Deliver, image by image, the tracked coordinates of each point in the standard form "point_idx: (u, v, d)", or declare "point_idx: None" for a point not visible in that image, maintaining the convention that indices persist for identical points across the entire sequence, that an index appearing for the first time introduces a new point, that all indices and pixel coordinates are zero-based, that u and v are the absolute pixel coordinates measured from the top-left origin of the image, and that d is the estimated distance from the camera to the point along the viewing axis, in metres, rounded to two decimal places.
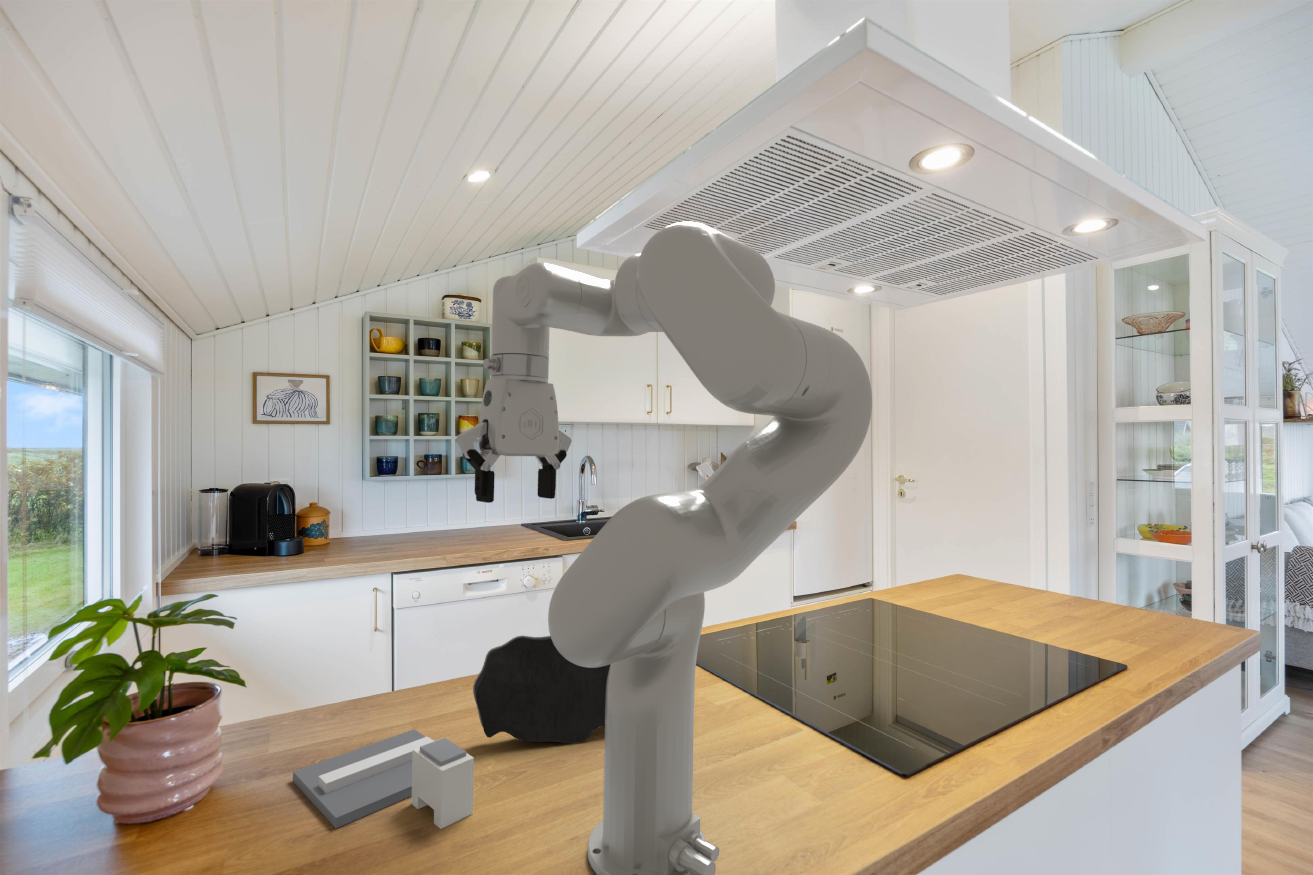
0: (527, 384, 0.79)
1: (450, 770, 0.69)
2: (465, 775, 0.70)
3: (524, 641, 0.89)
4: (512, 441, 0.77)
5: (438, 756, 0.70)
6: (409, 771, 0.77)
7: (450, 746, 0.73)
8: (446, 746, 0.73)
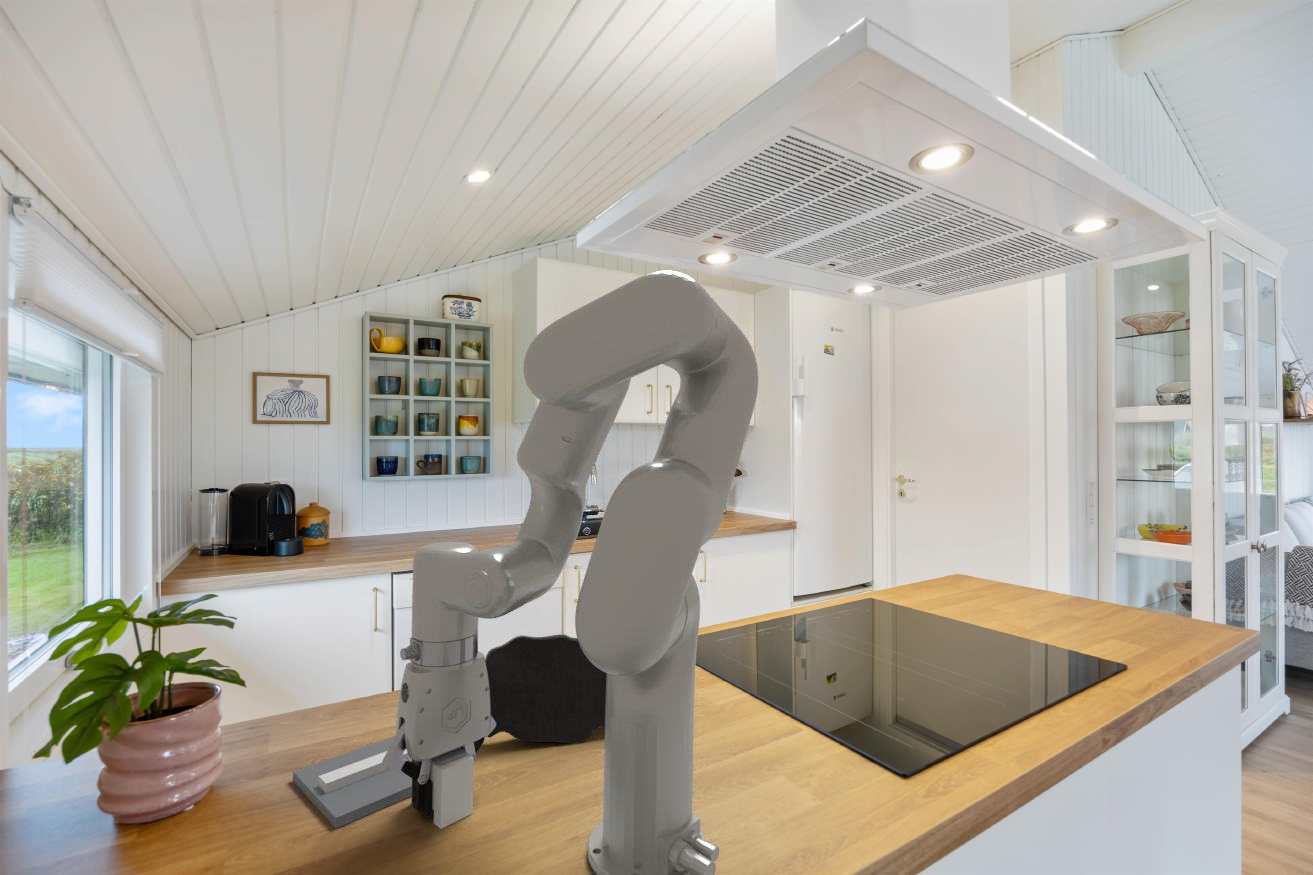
0: (451, 671, 0.70)
1: (450, 770, 0.69)
2: (465, 775, 0.70)
3: (524, 641, 0.89)
4: (432, 743, 0.68)
5: (438, 756, 0.70)
6: None
7: None
8: None
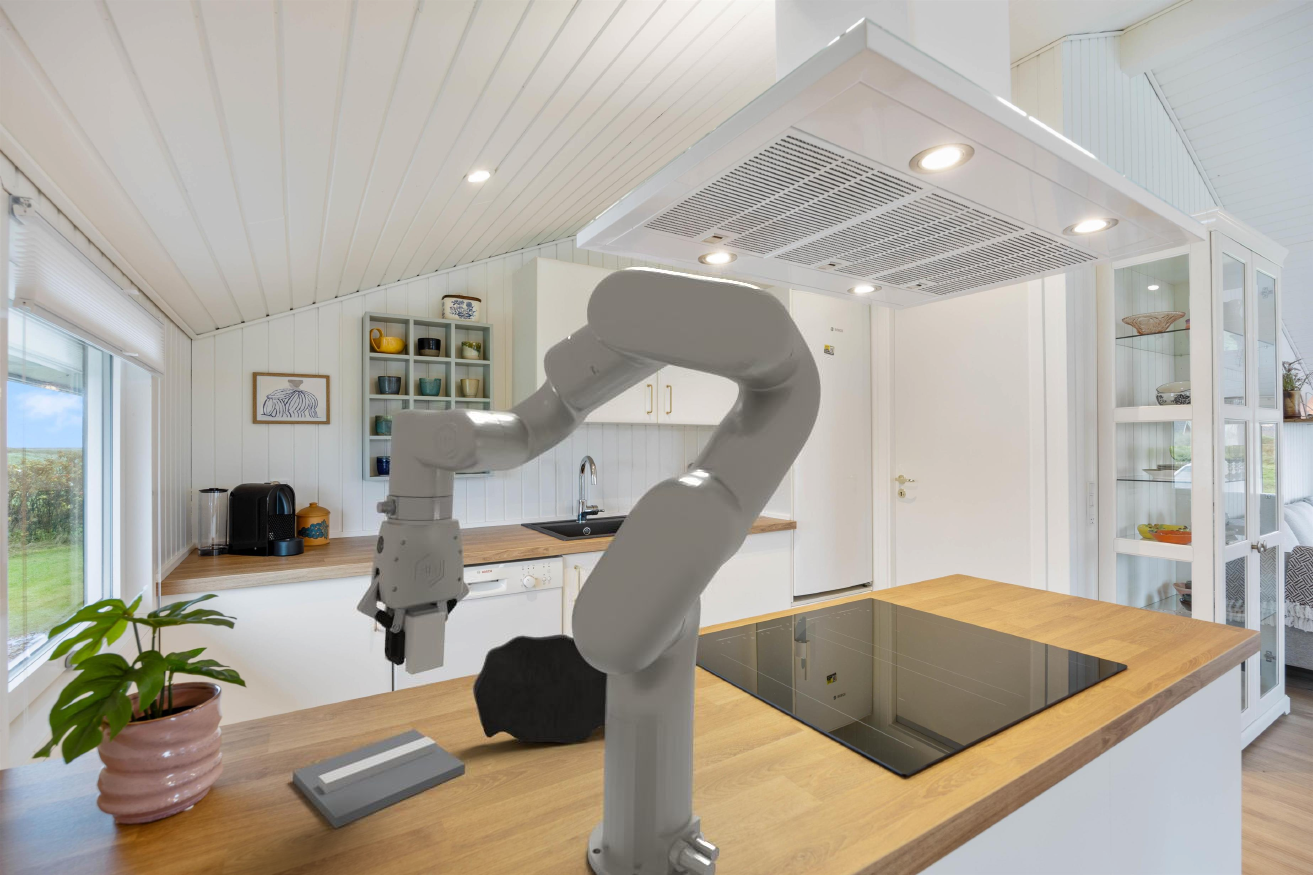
0: (425, 527, 0.73)
1: (422, 621, 0.72)
2: (437, 628, 0.73)
3: (524, 641, 0.89)
4: (406, 592, 0.71)
5: (411, 609, 0.73)
6: (409, 771, 0.77)
7: None
8: None
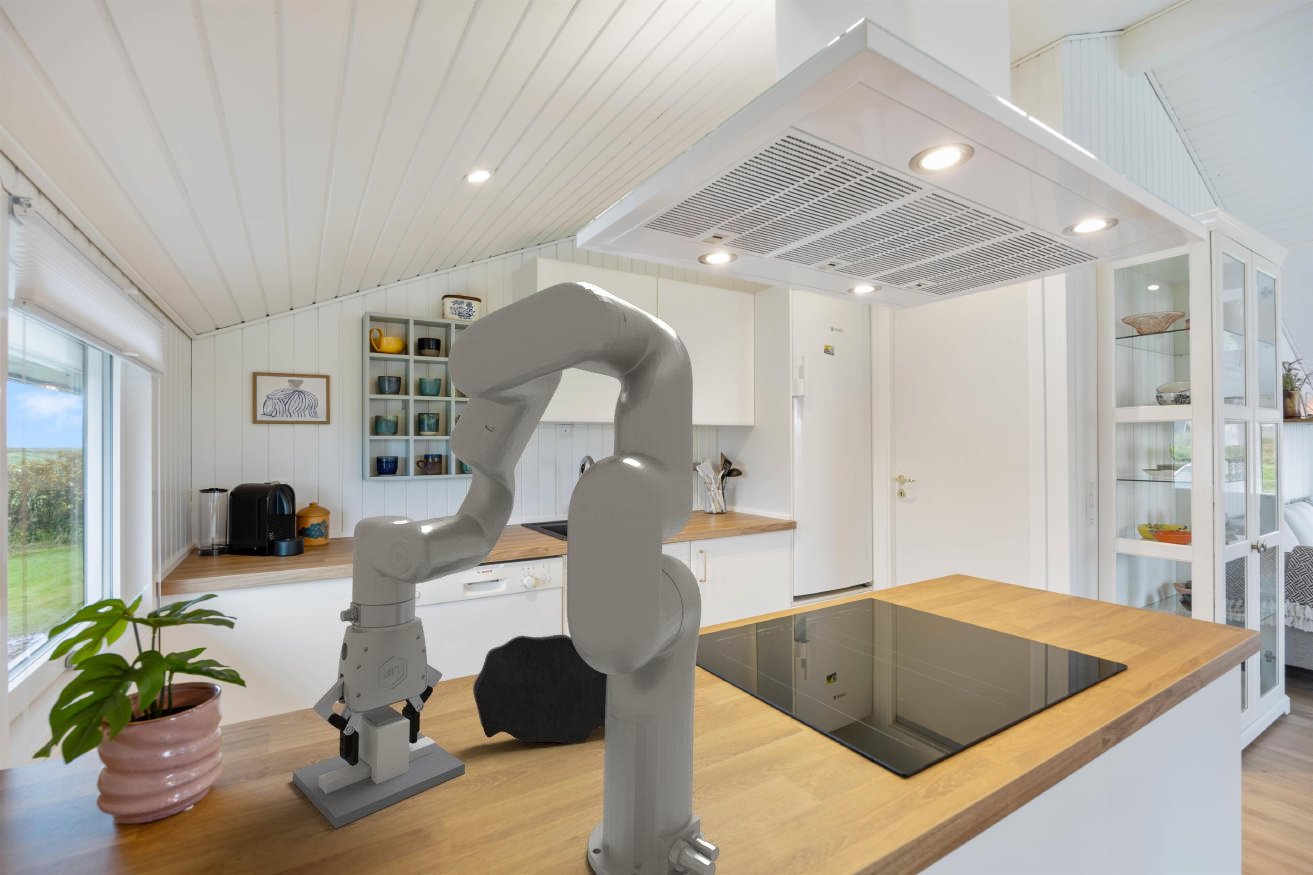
0: (387, 632, 0.76)
1: (386, 731, 0.75)
2: (401, 736, 0.77)
3: (524, 641, 0.89)
4: (369, 697, 0.75)
5: (376, 718, 0.77)
6: (409, 771, 0.77)
7: (389, 710, 0.79)
8: (385, 710, 0.79)
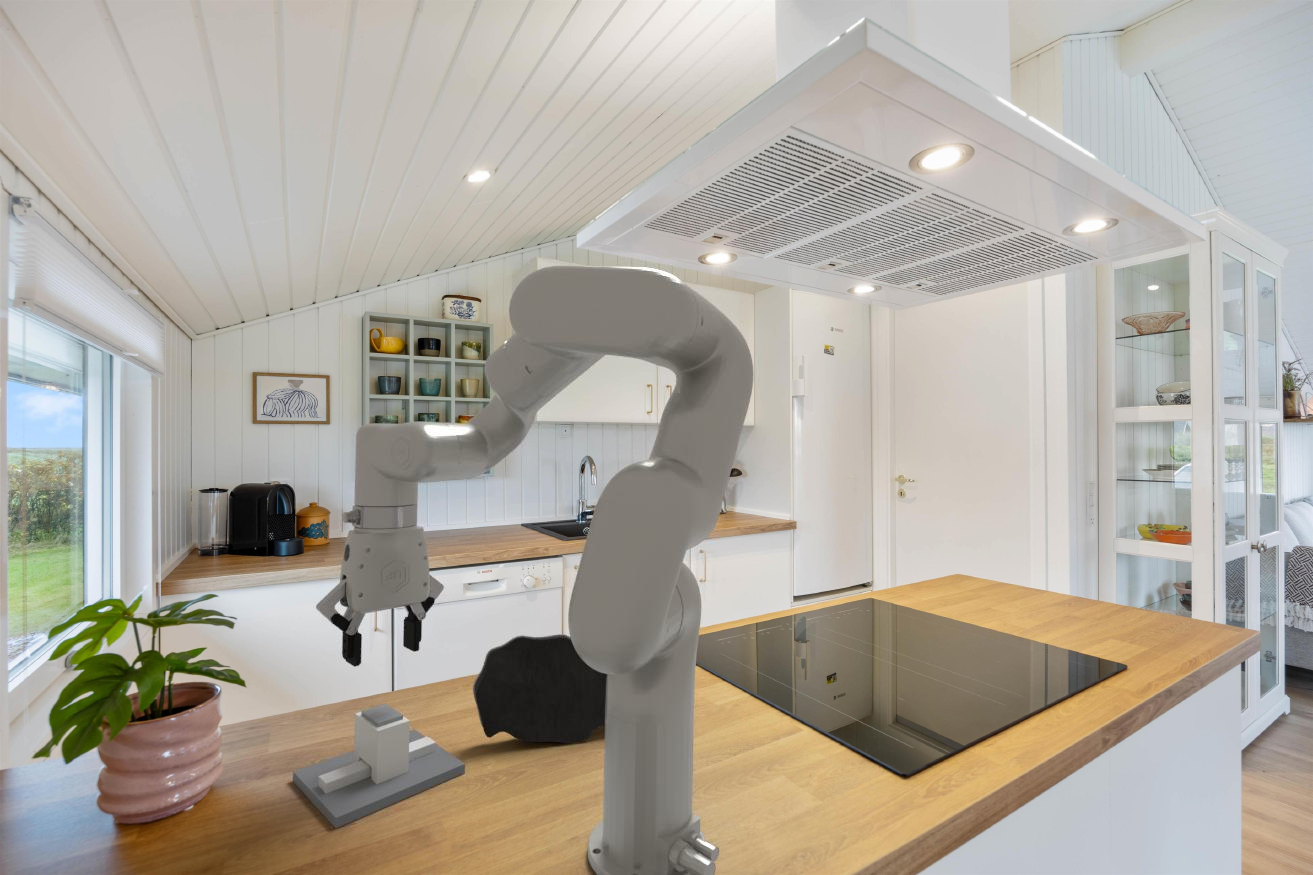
0: (389, 535, 0.77)
1: (386, 731, 0.75)
2: (401, 736, 0.77)
3: (524, 641, 0.89)
4: (371, 597, 0.75)
5: (376, 718, 0.77)
6: (409, 771, 0.77)
7: (389, 710, 0.79)
8: (385, 710, 0.79)
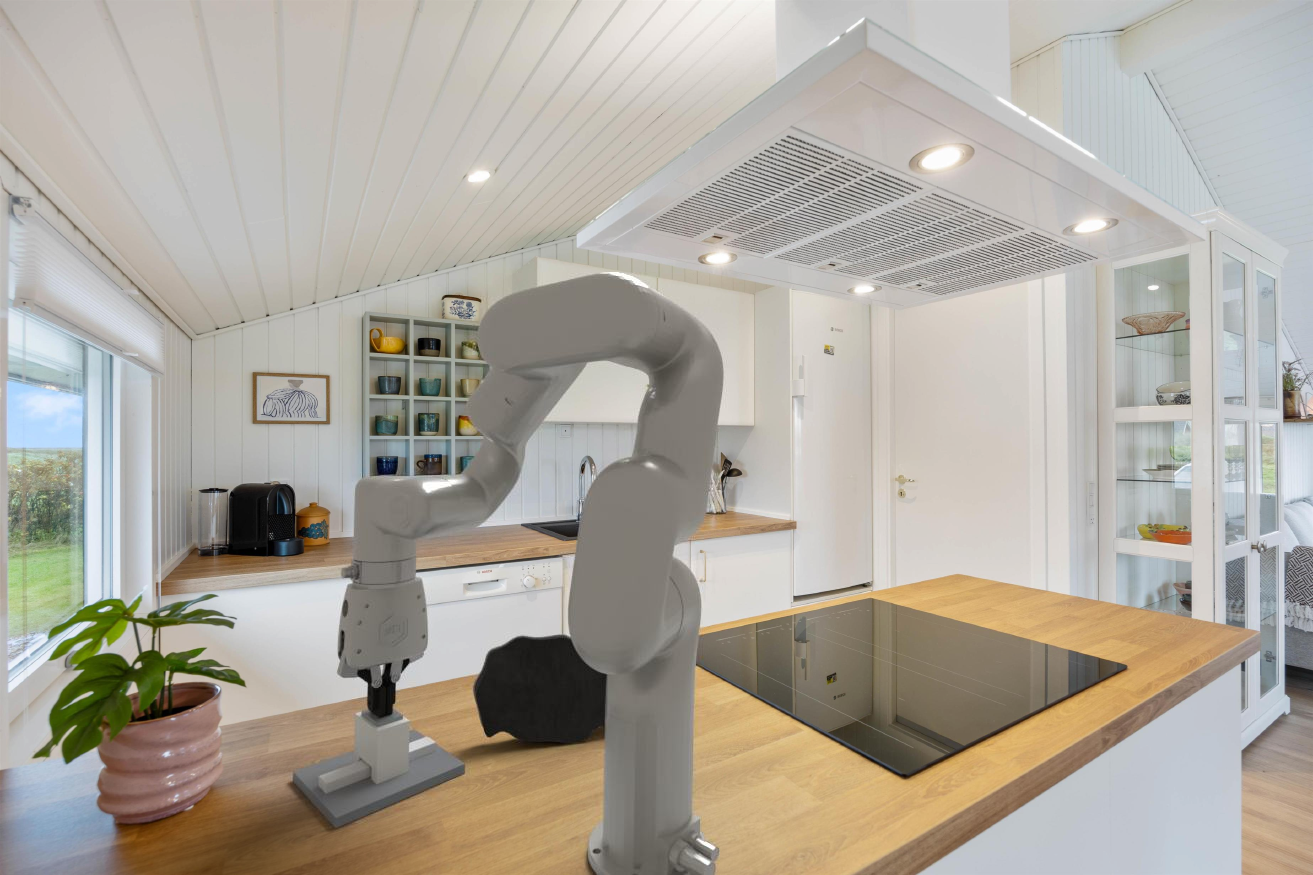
0: (388, 590, 0.76)
1: (386, 731, 0.75)
2: (401, 736, 0.77)
3: (524, 641, 0.89)
4: (370, 653, 0.75)
5: (376, 718, 0.77)
6: (409, 771, 0.77)
7: None
8: None
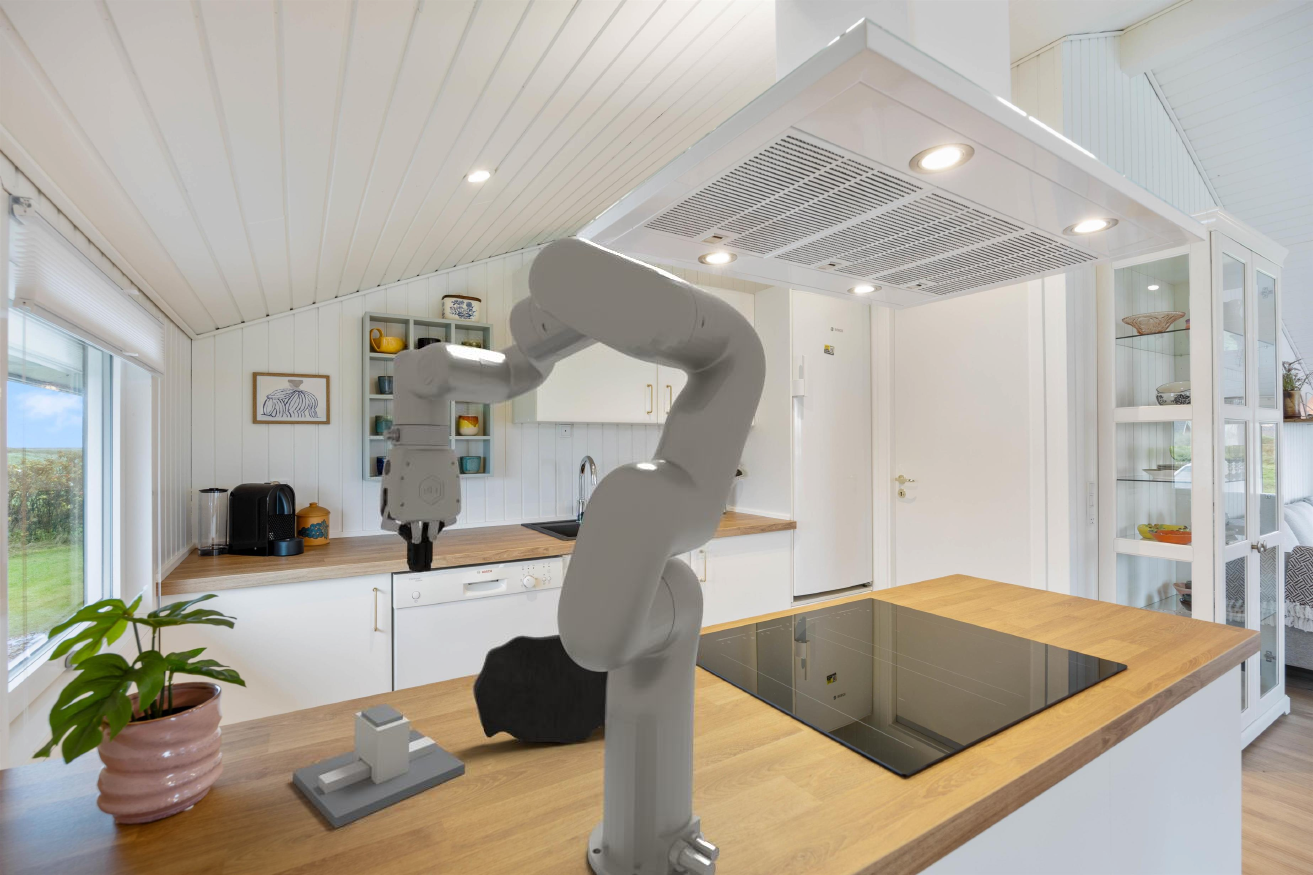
0: (426, 452, 0.83)
1: (386, 731, 0.75)
2: (401, 736, 0.77)
3: (524, 641, 0.89)
4: (411, 508, 0.81)
5: (376, 718, 0.77)
6: (409, 771, 0.77)
7: (389, 710, 0.79)
8: (385, 710, 0.79)
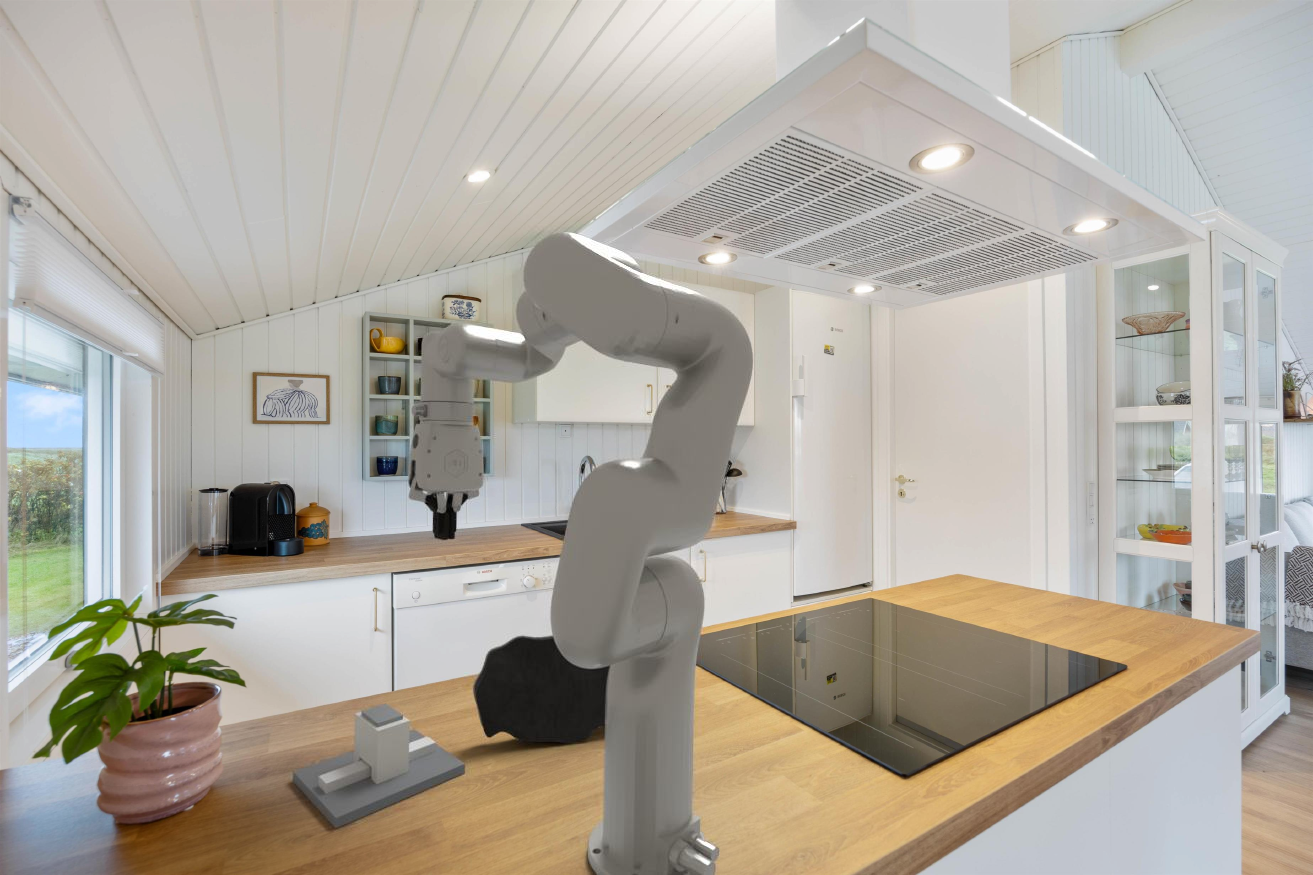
0: (451, 427, 0.88)
1: (386, 731, 0.75)
2: (401, 736, 0.77)
3: (524, 641, 0.89)
4: (437, 479, 0.86)
5: (376, 718, 0.77)
6: (409, 771, 0.77)
7: (389, 710, 0.79)
8: (385, 710, 0.79)
